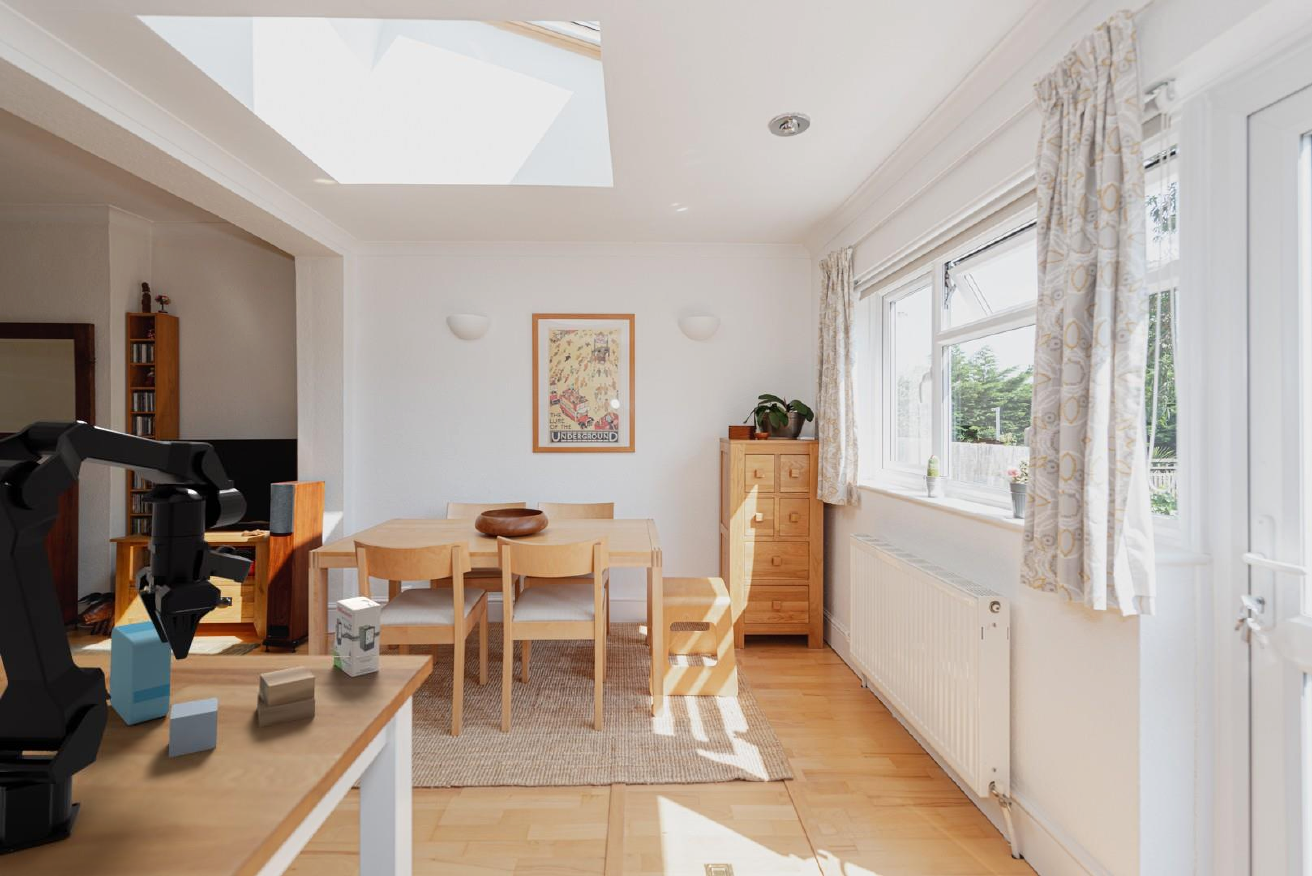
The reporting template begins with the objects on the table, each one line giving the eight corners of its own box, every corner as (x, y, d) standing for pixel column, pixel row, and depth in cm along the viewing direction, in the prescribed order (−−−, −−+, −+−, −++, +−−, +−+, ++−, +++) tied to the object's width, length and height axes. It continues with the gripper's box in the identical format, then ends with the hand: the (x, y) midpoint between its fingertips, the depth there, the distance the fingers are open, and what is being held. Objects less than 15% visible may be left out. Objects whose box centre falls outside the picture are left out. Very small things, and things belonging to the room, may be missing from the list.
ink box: (332, 664, 114) (334, 599, 114) (360, 658, 118) (362, 595, 118) (351, 678, 108) (353, 609, 108) (380, 671, 112) (382, 604, 112)
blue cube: (216, 748, 83) (217, 710, 83) (168, 758, 81) (170, 719, 81) (216, 733, 88) (217, 697, 88) (171, 742, 85) (172, 704, 85)
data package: (169, 718, 91) (172, 635, 91) (129, 729, 88) (132, 643, 88) (146, 695, 99) (148, 618, 99) (108, 704, 95) (111, 624, 95)
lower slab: (314, 719, 94) (315, 699, 94) (259, 730, 90) (259, 708, 90) (309, 702, 99) (310, 683, 99) (257, 711, 95) (257, 691, 95)
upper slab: (314, 697, 94) (315, 676, 94) (268, 707, 90) (269, 686, 90) (303, 684, 99) (304, 665, 99) (259, 694, 95) (259, 674, 95)
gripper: (268, 537, 85) (263, 654, 84) (229, 522, 97) (225, 624, 97) (164, 545, 76) (158, 674, 76) (137, 528, 89) (132, 639, 89)
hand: (173, 650), depth 85 cm, fingers open, 9 cm apart
